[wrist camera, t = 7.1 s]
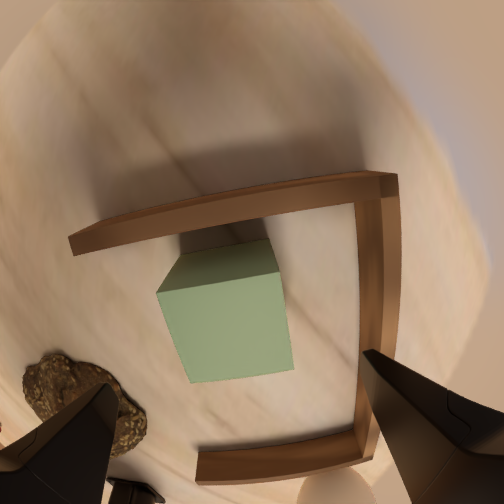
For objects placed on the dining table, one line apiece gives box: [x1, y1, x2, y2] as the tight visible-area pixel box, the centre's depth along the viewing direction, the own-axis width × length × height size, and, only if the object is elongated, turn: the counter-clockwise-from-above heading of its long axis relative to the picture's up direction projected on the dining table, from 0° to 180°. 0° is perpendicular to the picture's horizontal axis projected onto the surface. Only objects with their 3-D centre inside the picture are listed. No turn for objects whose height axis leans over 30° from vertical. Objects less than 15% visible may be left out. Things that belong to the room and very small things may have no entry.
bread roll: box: [22, 354, 147, 460], centre depth 18 cm, size 13×12×5 cm
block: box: [156, 239, 294, 383], centre depth 14 cm, size 5×5×5 cm
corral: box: [68, 170, 402, 485], centre depth 16 cm, size 23×16×4 cm
